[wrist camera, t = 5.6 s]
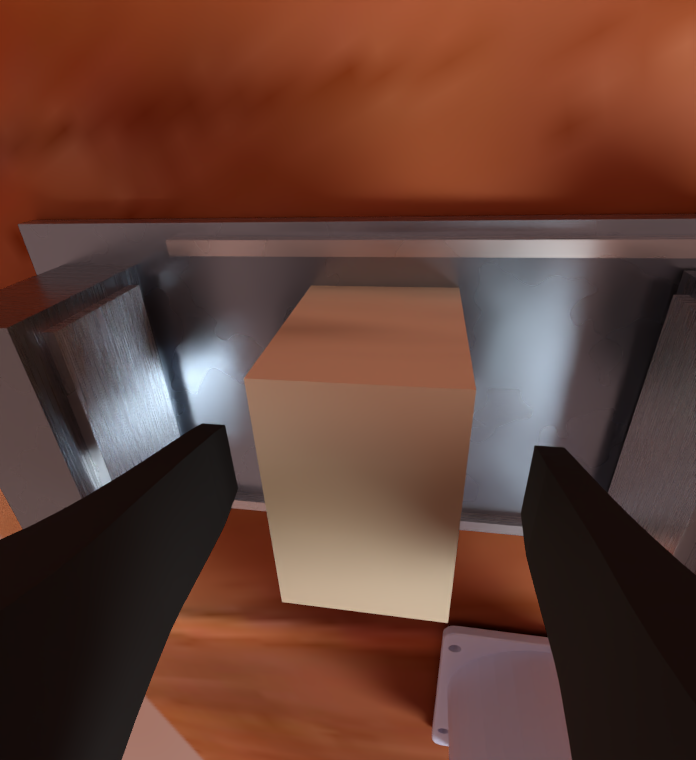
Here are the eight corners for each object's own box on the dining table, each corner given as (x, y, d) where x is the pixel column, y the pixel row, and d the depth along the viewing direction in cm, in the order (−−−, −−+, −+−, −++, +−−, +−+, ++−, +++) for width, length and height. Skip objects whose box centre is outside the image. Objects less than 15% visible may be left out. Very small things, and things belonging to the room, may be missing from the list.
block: (442, 471, 14) (448, 623, 10) (324, 463, 15) (281, 602, 11) (459, 287, 11) (476, 390, 7) (311, 285, 12) (243, 378, 8)
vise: (708, 537, 15) (823, 709, 10) (130, 485, 18) (35, 600, 14) (874, 212, 10) (1225, 284, 5) (34, 219, 13) (-164, 270, 9)
